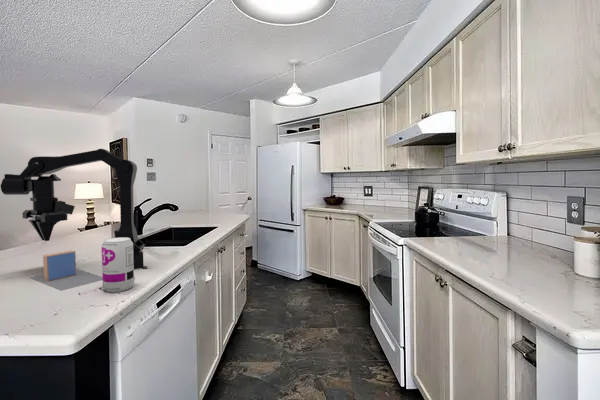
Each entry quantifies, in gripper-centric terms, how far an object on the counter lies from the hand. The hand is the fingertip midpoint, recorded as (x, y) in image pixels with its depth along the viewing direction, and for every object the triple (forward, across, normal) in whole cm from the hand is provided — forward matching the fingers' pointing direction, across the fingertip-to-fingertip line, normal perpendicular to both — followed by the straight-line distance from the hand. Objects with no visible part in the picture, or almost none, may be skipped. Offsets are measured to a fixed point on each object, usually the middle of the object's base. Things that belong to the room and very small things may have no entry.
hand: (45, 240), depth 107 cm
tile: (+11, -10, 0) cm, 15 cm away
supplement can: (+12, -33, -6) cm, 36 cm away
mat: (+12, -13, -1) cm, 18 cm away
